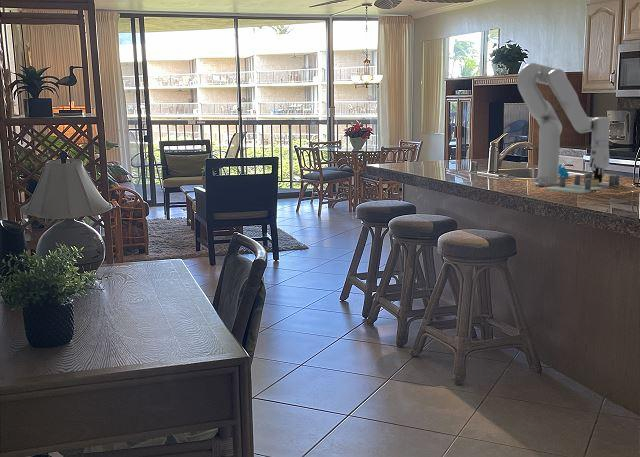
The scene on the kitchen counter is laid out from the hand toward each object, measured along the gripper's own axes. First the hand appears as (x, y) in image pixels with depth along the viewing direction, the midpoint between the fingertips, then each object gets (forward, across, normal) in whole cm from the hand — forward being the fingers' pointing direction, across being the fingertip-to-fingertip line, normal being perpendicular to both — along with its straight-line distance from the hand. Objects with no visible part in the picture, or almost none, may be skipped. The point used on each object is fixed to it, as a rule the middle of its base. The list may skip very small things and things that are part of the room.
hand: (597, 182), depth 324 cm
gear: (+2, +20, +32) cm, 38 cm away
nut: (+1, -5, 0) cm, 5 cm away
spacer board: (+2, -10, +1) cm, 10 cm away
